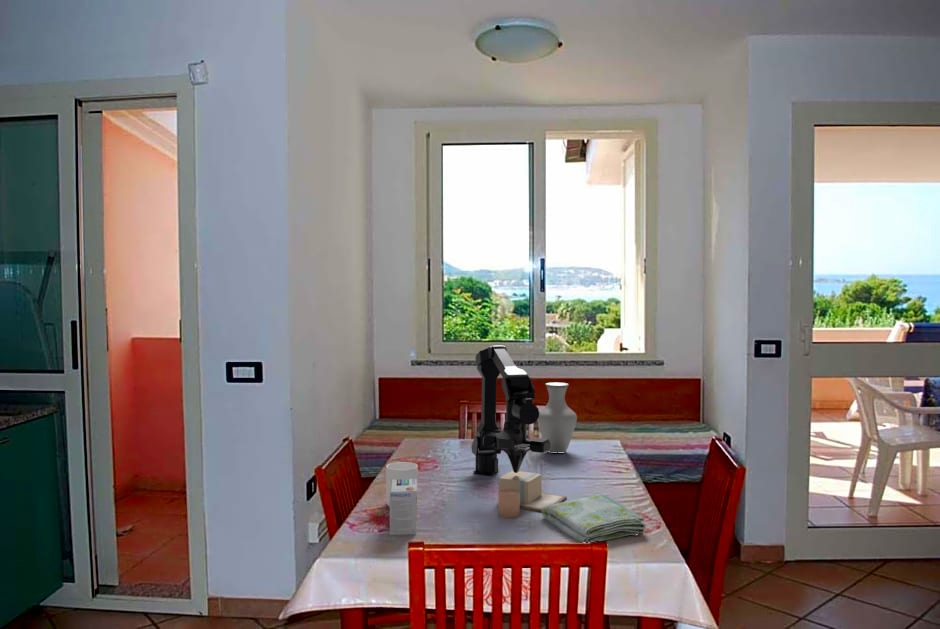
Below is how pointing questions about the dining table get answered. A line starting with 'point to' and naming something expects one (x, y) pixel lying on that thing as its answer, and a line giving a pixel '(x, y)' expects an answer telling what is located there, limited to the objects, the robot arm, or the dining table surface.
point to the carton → (523, 485)
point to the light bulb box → (403, 507)
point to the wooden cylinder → (509, 503)
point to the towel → (594, 518)
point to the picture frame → (543, 502)
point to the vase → (557, 418)
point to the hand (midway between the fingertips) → (516, 472)
